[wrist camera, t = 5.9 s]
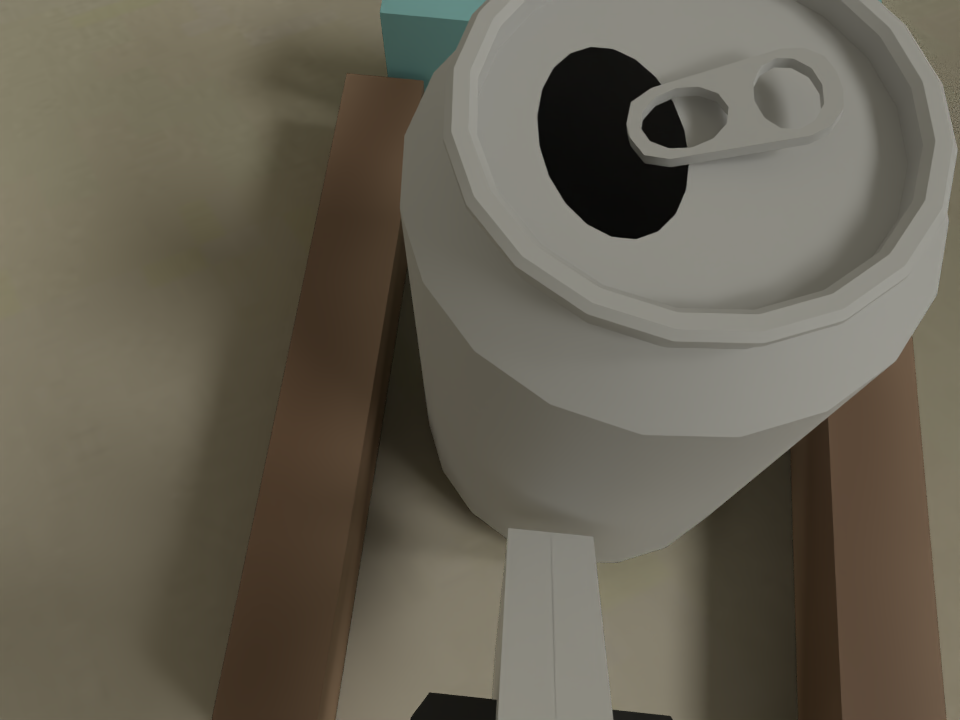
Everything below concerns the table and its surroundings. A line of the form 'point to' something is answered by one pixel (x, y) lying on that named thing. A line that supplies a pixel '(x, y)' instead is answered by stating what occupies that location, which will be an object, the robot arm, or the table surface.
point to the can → (663, 247)
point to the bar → (423, 34)
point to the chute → (354, 447)
